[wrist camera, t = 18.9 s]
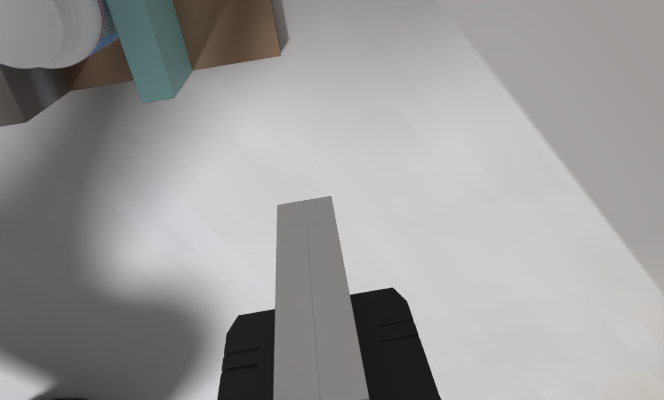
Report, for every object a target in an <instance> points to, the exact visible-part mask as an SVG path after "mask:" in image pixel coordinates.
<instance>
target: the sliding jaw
mask: <svg viewBox="0 0 664 400" xmlns="http://www.w3.org/2000/svg"><path fill="white" fill-rule="evenodd" d="M106 2H107V4H108V7H109V10H110V13H111V16H112V19H113V22H114V24H115V27H116V30H117V33H118V36H119V39H120V41H121V44H122V47H123V50H124V53H125V56H126V59H127V61H128V64H129V67H130V70H131V73H132V76H133V78H134V81H135V84H136V87H137V90H138V93H139V95H140V98H141V101H142V103H147V102H153V101H159V100H165V99H171V98H174V97H175V96H176V95H177V93H178V92H179V90H180V89H181V87H182V86H183V84H184V83H185V81H186V80H187V78H188V77H189V75H190V74H191V73H192V71H193V69H192V66H191V63H190V59H189V56H188V52H187V49H186V45H185V42H184V38H183V35H182V31H181V28H180V24H179V21H178V17H177V14H176V10H175V7H174V3H173V0H106Z"/></svg>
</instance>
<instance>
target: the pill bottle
mask: <svg viewBox="0 0 664 400" xmlns="http://www.w3.org/2000/svg"><path fill="white" fill-rule="evenodd" d="M118 38H119V36H118V33H117V30H116V27H115V24H114V22H113V19H112V16H111V13H110V10H109V7H108V4H107V2H106V0H0V63H1V64H3V65H7V66H10V67H14V68H22V69H27V68H35V67H42V68H52V69H55V68H64V67H68V66H72V65H74V64H76V63H79V62H80V61H82V60H84V59H85V58H87V57H89V56H90V55H92V54H94V53H95V52H97V51H99V50H100V49H102V48H104V47H105V46H107V45H109V44H110V43H112V42H114V41H115V40H117V39H118Z"/></svg>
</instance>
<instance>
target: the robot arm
mask: <svg viewBox="0 0 664 400" xmlns="http://www.w3.org/2000/svg"><path fill="white" fill-rule="evenodd" d="M60 400H78V399H60ZM217 400H441V398H440V396H439V393H438V390H437V387H436V385H435V382H434V379H433V376H432V373H431V370H430V367H429V364H428V361H427V358H426V355H425V352H424V349H423V347H422V344H421V341H420V338H419V336H418V332H417V329H416V326H415V323H414V321H413V317H412V314H411V311H410V309H409V306H408V303H407V301H406V300H405V299H404V298H403V297H402V296H401V295H400V294H399V293H398V292H397V291H396V290H395V289H394V288H387V289H381V290H375V291H369V292H363V293H358V294H352V295H350V294H349V288H348V283H347V278H346V272H345V267H344V262H343V256H342V251H341V246H340V240H339V235H338V230H337V224H336V219H335V214H334V208H333V203H332V198H331V196H328V197H322V198H316V199H310V200H304V201H298V202H293V203H287V204H281V205H277V249H276V297H275V309H273V310H267V311H261V312H256V313H250V314H244V315H238V317H237V318H236V320H235V322H234V323H233V325H232V326H231V328H230V330H229V331H228V333H227V336H226V343H225V350H224V357H223V364H222V374H221V378H220V385H219V392H218V399H217Z"/></svg>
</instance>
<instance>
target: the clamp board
mask: <svg viewBox="0 0 664 400" xmlns="http://www.w3.org/2000/svg"><path fill="white" fill-rule="evenodd" d="M173 3H174V7H175V10H176V14H177V17H178V21H179V24H180V28H181V31H182V35H183V38H184V42H185V45H186V49H187V52H188V56H189V59H190V63H191V66H192V69H193V70H198V69H204V68H210V67H216V66H222V65H228V64H234V63H240V62H246V61H252V60H258V59H264V58H270V57H276V56H281V50H280V45H279V40H278V34H277V29H276V24H275V19H274V14H273V8H272V3H271V0H173ZM132 80H134V78H133V76H132V73H131V70H130V67H129V64H128V61H127V59H126V56H125V53H124V50H123V47H122V44H121V41H120V39H119V38H118V39H117V40H115V41H114V42H112V43H110V44H109V45H107V46H105V47H104V48H102V49H100V50H99V51H97V52H95V53H94V54H92V55H90V56H89V57H87V58H85V59H84V60H82V61H80V62H79V63H76V64H74V65H72V66H68V67H64V68H55V69H52V68H42V67H35V68H27V69H22V68H14V67H10V66H7V65H3V64H1V63H0V127H1V126H7V125H13V124H19V123H25V122H27V121H29V120H30V119H32V118H33V117H34V116H36V115H37V114H39V113H40V112H41V111H43V110H44V109H46V108H47V107H48V106H50V105H51V104H53V103H54V102H55V101H57V100H58V99H60V98H61V97H62V96H64V95H65V94H67V93H68V92H69V91H72V90H78V89H84V88H90V87H96V86H102V85H108V84H114V83H120V82H126V81H132Z"/></svg>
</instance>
